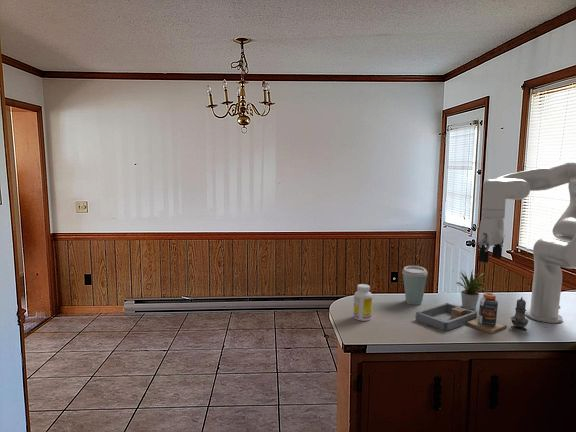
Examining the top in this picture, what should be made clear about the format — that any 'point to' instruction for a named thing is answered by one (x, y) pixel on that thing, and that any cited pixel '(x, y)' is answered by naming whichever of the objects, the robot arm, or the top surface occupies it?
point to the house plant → (470, 291)
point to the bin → (451, 324)
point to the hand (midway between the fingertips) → (490, 259)
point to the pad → (488, 329)
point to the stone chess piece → (519, 316)
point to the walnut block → (457, 312)
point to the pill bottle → (488, 310)
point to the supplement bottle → (362, 303)
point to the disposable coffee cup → (414, 283)
